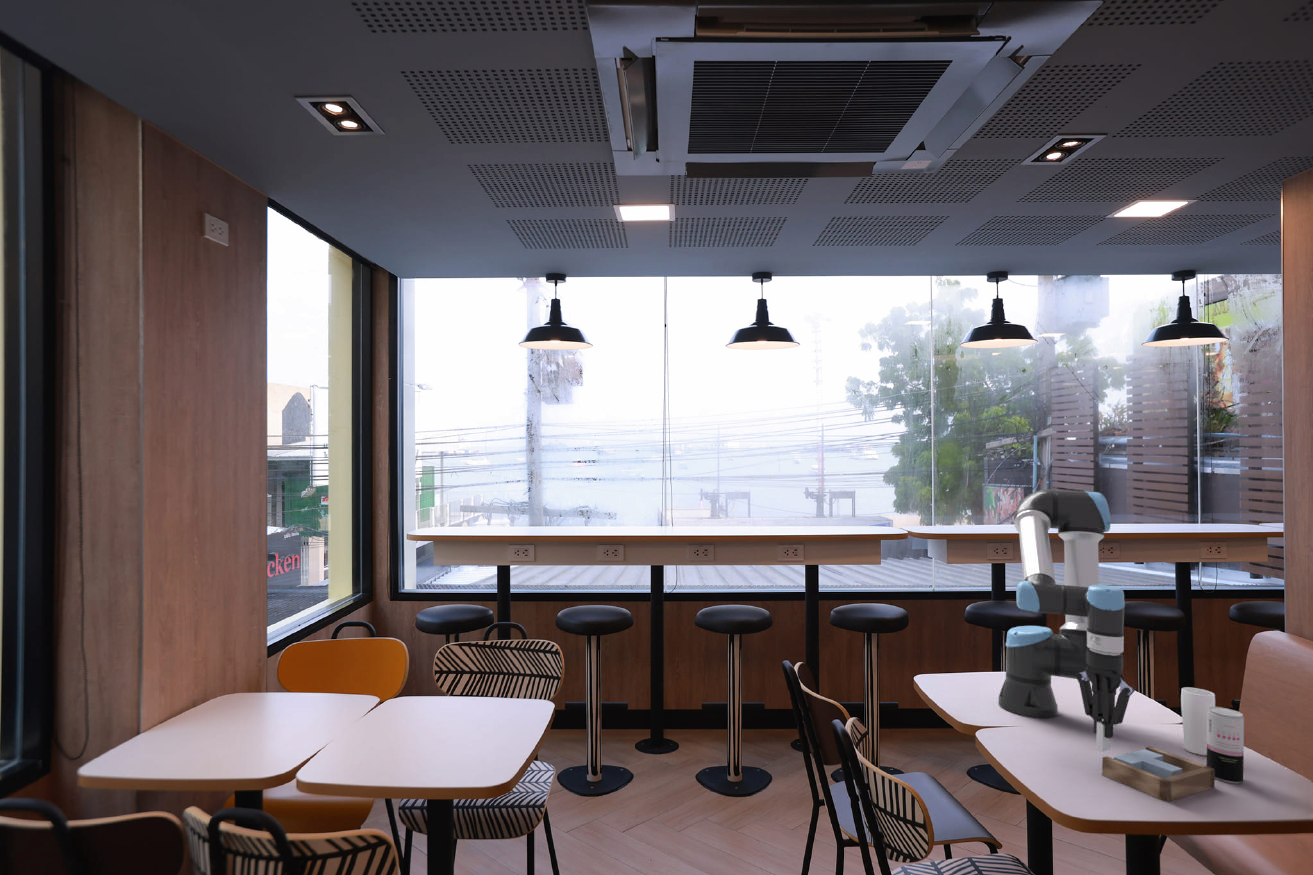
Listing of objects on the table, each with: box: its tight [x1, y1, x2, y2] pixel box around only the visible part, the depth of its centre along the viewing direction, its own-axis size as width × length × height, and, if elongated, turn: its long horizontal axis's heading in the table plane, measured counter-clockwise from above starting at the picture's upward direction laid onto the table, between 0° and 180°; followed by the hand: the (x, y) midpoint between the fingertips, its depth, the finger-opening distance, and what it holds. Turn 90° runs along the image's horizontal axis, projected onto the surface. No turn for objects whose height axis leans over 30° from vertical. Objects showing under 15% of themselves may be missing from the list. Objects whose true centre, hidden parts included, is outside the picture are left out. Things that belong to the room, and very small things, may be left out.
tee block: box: [1113, 748, 1182, 778], centre depth 158 cm, size 10×12×4 cm
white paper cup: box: [1180, 686, 1216, 756], centre depth 175 cm, size 7×7×15 cm
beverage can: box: [1206, 706, 1245, 784], centre depth 161 cm, size 6×7×15 cm
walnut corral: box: [1101, 745, 1215, 803], centre depth 157 cm, size 14×18×4 cm
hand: (1102, 749), depth 168 cm, fingers closed
